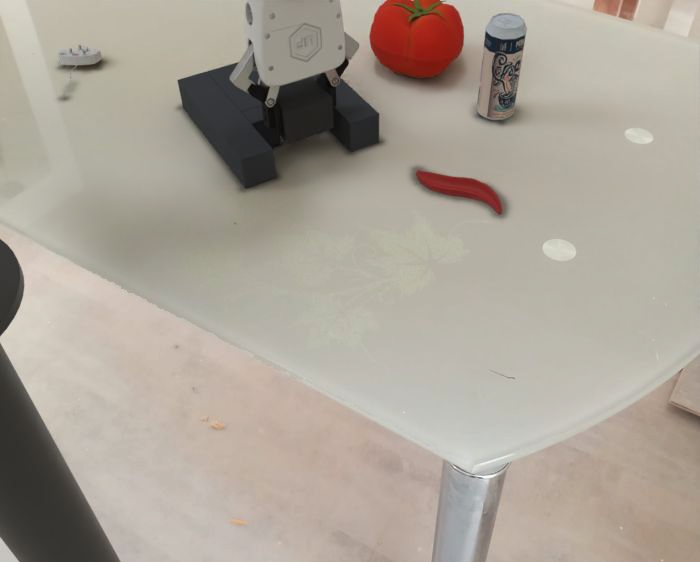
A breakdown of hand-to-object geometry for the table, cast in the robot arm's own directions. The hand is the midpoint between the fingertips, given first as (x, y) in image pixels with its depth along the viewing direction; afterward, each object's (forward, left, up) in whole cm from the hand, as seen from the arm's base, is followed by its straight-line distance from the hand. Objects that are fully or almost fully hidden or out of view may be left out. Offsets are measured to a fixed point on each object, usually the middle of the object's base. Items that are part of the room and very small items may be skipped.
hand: (301, 120), depth 91 cm
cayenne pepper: (+12, -16, -5) cm, 20 cm away
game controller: (-19, +33, -4) cm, 38 cm away
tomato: (+23, +10, -5) cm, 25 cm away
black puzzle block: (0, +1, -1) cm, 1 cm away
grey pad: (0, +7, -4) cm, 8 cm away
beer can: (+25, -5, -5) cm, 26 cm away
